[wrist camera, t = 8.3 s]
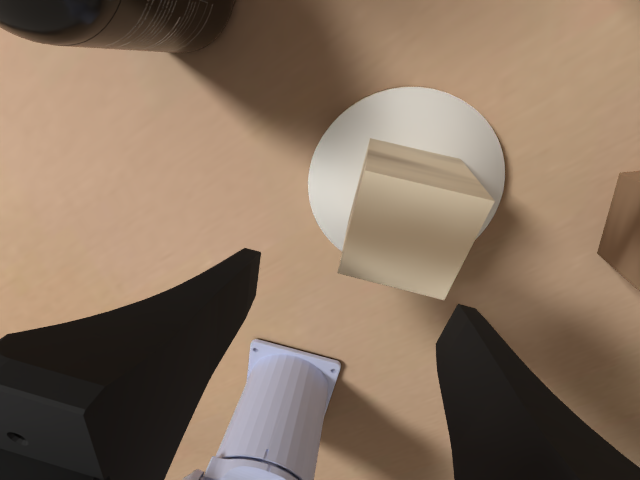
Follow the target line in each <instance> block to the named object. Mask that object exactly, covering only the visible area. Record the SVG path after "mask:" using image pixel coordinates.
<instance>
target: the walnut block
mask: <svg viewBox="0 0 640 480" xmlns="http://www.w3.org/2000/svg"><path fill="white" fill-rule="evenodd" d="M597 254H599V255H600V256H601V257H602V258H603V259H604V260H605V261H606V262H608V263H609V264H610V265H611V266H612V267H613V268H614V269H615V270H617V271H618V272H619V273H620V274H621V275H622V276H623V277H624V278H626V279H627V280H628V281H629V282H630V283H631V284H632V285H633V286H635V287H636V288H637V289H638V290H639V291H640V171H634V172H623V173H620V174H619V177H618V181H617V184H616V188H615V192H614V195H613V199H612V202H611V206H610V209H609V213H608V216H607V220H606V224H605V227H604V231H603V234H602V238H601V241H600V245H599V249H598V252H597Z"/></svg>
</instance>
